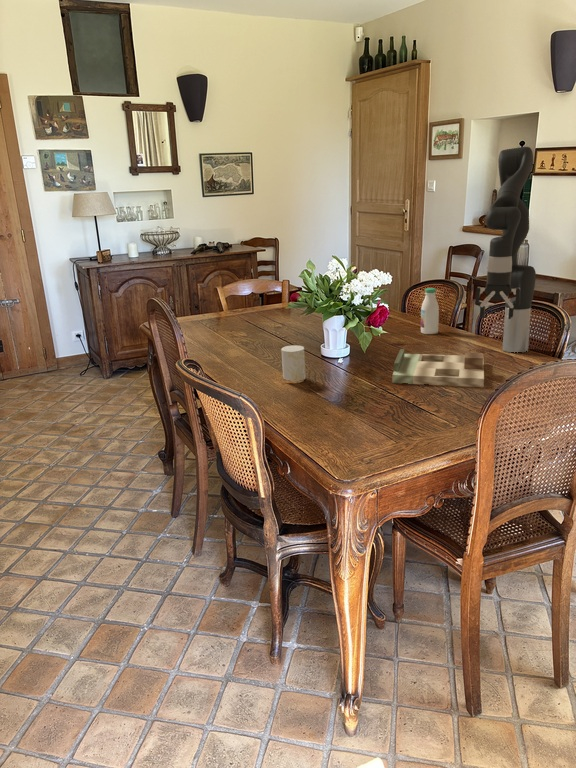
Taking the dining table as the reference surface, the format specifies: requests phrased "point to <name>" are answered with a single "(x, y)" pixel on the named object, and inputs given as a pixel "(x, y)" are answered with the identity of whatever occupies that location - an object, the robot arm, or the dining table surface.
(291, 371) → the grey beige cylinder
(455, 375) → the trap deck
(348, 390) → the dining table surface
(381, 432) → the dining table surface
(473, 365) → the walnut block
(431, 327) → the milk bottle
